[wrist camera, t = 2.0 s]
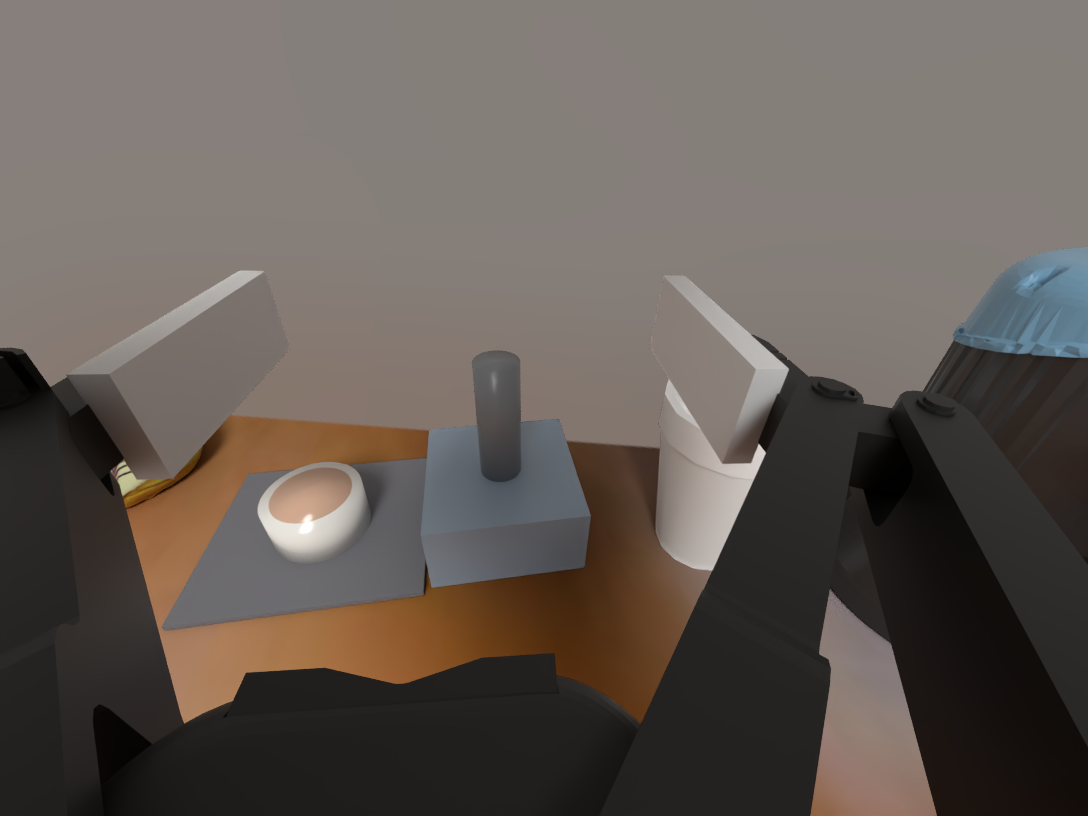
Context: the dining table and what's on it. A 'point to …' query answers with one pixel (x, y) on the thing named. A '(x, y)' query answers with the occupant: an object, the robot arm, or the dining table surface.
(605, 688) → the dining table surface
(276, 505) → the bowl
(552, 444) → the cover
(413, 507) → the mat
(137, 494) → the decorated donut
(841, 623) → the dining table surface
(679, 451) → the foam cup
